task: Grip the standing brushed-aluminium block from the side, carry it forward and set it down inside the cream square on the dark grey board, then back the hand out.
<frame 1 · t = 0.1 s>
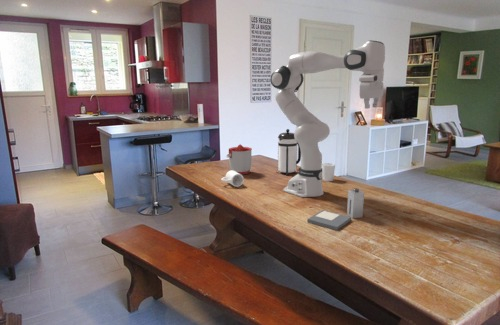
hand: (371, 107, 162), 48 cm above the table, tool pointing down, fingers open, 8 cm apart
coffee press: (288, 172, 236), on the table
aluminium block: (354, 215, 158), on the table
white cup: (327, 180, 217), on the table
mug: (231, 185, 208), on the table
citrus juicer: (239, 173, 236), on the table
dock board: (329, 221, 153), on the table
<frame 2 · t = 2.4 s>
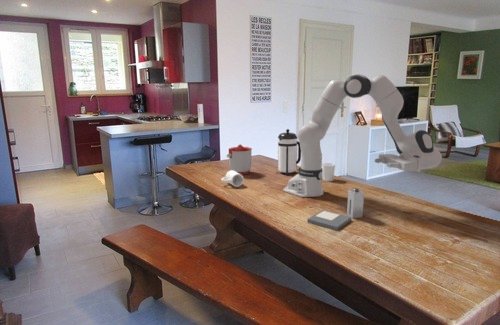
hand: (381, 163, 156), 24 cm above the table, tool horizontal, fingers open, 8 cm apart
nothing on the table moved.
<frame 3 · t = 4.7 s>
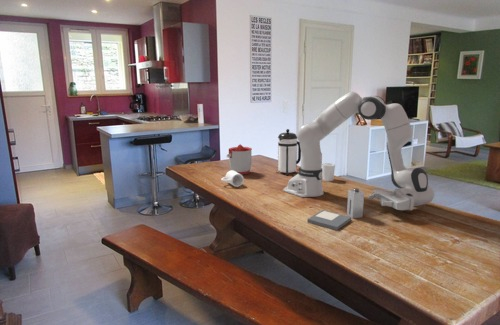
hand: (375, 200, 160), 6 cm above the table, tool horizontal, fingers open, 8 cm apart
nothing on the table moved.
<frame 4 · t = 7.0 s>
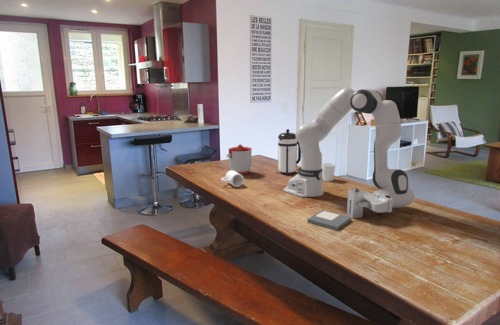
hand: (353, 202, 157), 7 cm above the table, tool horizontal, fingers closed on aluminium block, 5 cm apart
aluminium block: (354, 215, 158), on the table, touching gripper
everything else where it was.
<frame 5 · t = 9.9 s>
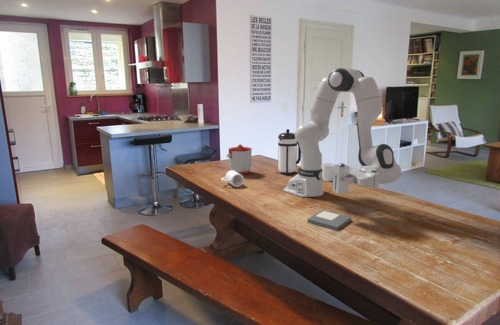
hand: (339, 177, 152), 19 cm above the table, tool horizontal, fingers closed on aluminium block, 5 cm apart
aluminium block: (340, 192, 154), point 12 cm above the table, touching gripper
everything else where it was.
when the fingers open (10 cm above the table, at t = 12.6 s): aluminium block drops 1 cm, resting on dock board.
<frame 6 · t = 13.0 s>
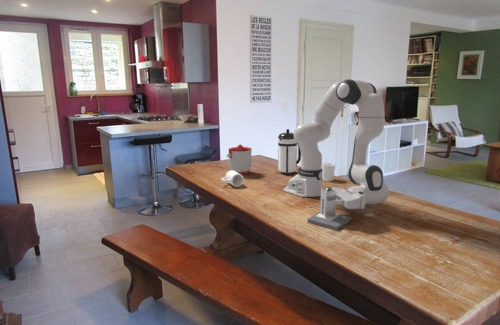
hand: (326, 198, 153), 10 cm above the table, tool horizontal, fingers open, 8 cm apart
aluminium block: (327, 215, 155), point 2 cm above the table, touching dock board
everything else where it was.
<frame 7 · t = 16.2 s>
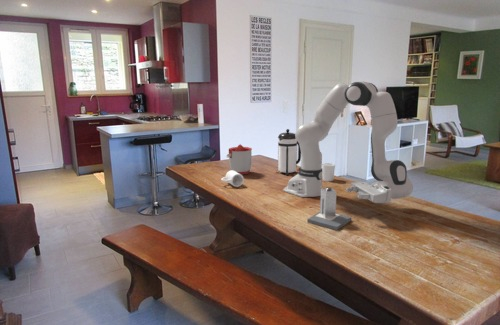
hand: (352, 192, 156), 11 cm above the table, tool horizontal, fingers open, 8 cm apart
nothing on the table moved.
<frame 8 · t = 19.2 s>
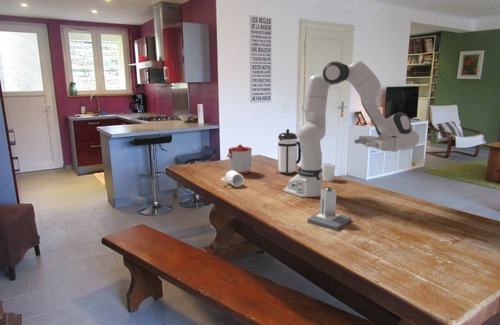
hand: (360, 143, 161), 32 cm above the table, tool horizontal, fingers open, 8 cm apart
nothing on the table moved.
at the end: aluminium block inside the target area on the dock board (0.0 cm from its centre), point 1.6 cm above the dock board's base; aluminium block tilted 0°; the gripper is holding nothing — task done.
